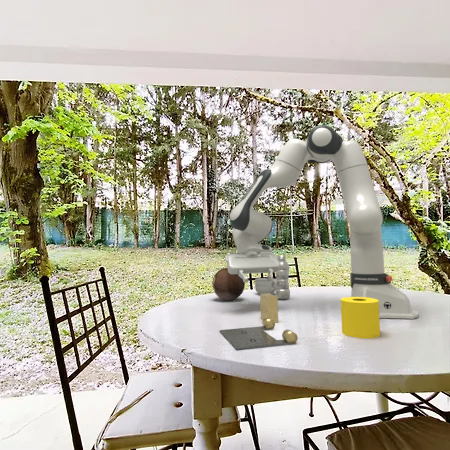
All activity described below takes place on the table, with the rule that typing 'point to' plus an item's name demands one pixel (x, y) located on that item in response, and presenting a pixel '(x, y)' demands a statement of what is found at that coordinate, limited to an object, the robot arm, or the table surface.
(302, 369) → the table surface
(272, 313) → the plate
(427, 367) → the table surface
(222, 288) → the wooden sphere
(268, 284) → the teacup
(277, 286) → the plastic bottle
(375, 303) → the yellow toilet paper roll
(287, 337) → the fixed leaf
